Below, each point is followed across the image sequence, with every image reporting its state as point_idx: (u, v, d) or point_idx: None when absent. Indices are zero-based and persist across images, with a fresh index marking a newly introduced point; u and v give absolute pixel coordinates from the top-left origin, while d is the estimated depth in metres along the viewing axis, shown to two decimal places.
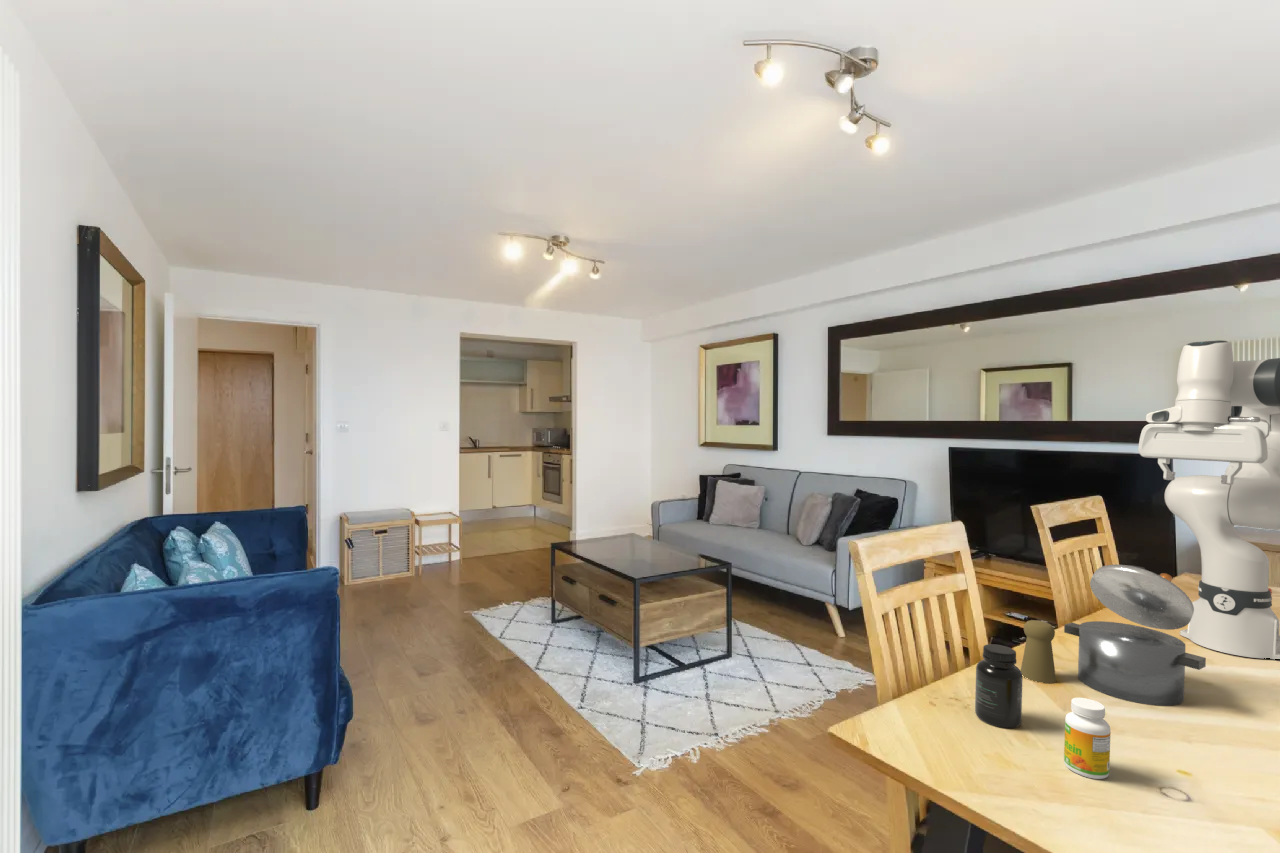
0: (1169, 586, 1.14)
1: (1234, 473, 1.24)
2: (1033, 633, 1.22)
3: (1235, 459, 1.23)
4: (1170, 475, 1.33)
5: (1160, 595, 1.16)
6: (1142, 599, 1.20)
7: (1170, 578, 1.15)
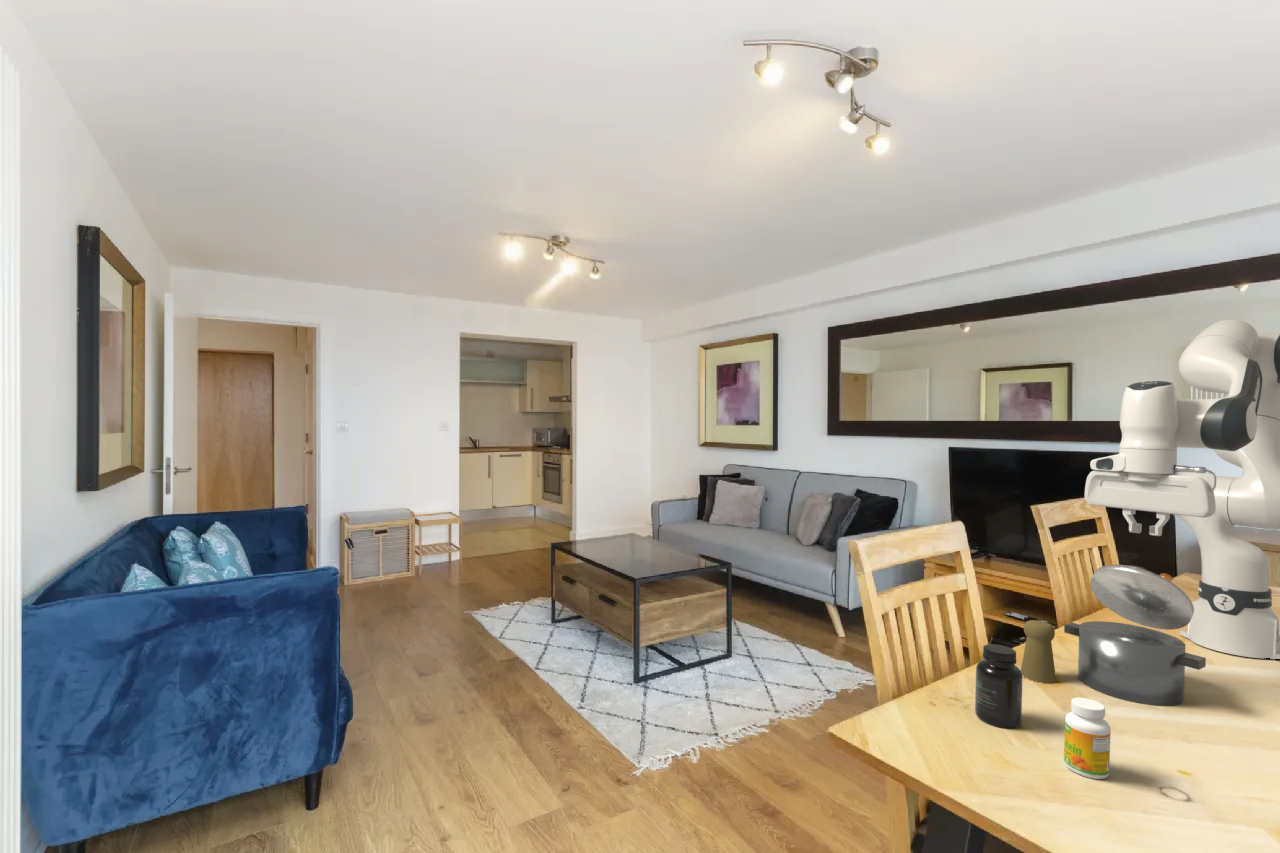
0: (1169, 586, 1.14)
1: (1161, 524, 1.19)
2: (1033, 633, 1.22)
3: (1182, 513, 1.15)
4: (1136, 528, 1.22)
5: (1160, 595, 1.16)
6: (1142, 599, 1.20)
7: (1170, 578, 1.15)
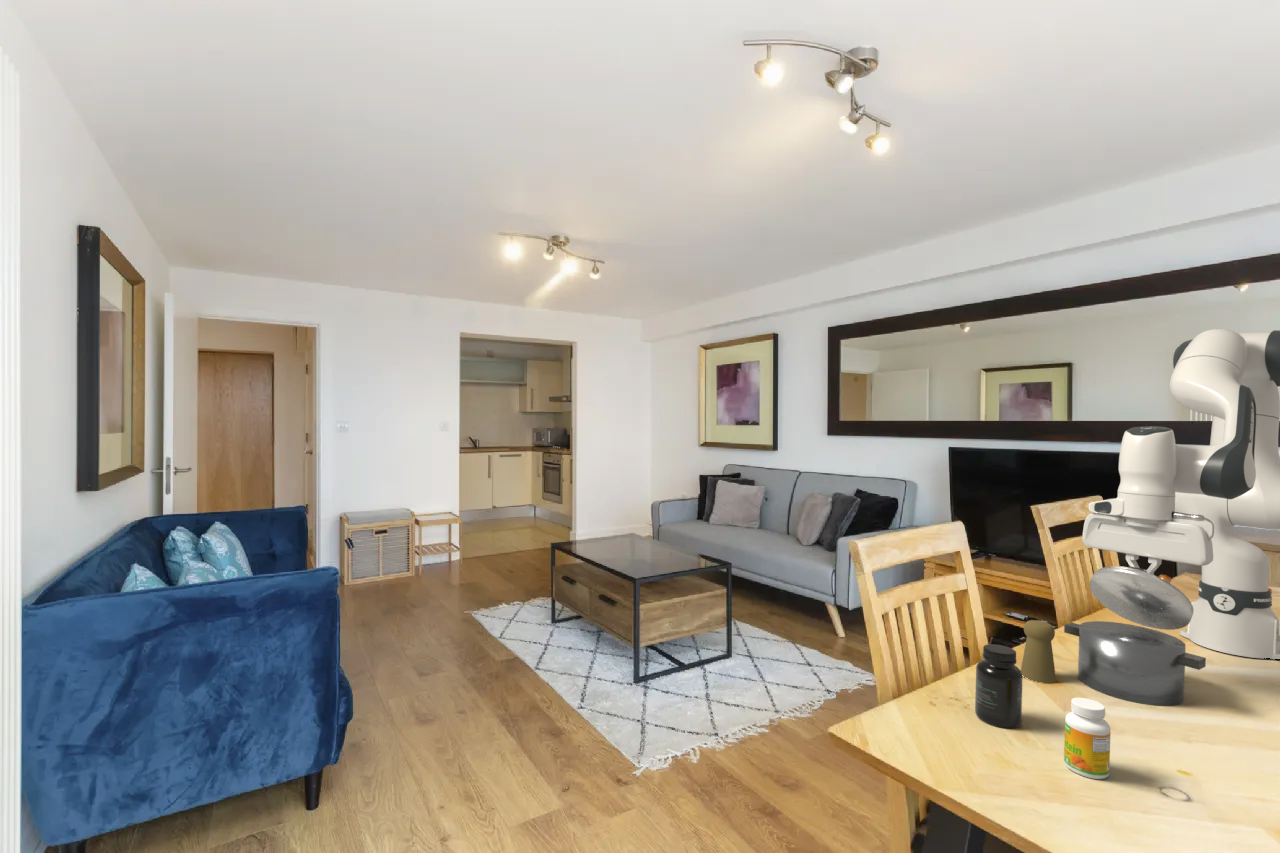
0: (1168, 588, 1.14)
1: (1153, 569, 1.20)
2: (1033, 633, 1.22)
3: (1179, 560, 1.15)
4: None
5: (1159, 596, 1.16)
6: (1142, 600, 1.20)
7: (1169, 579, 1.15)
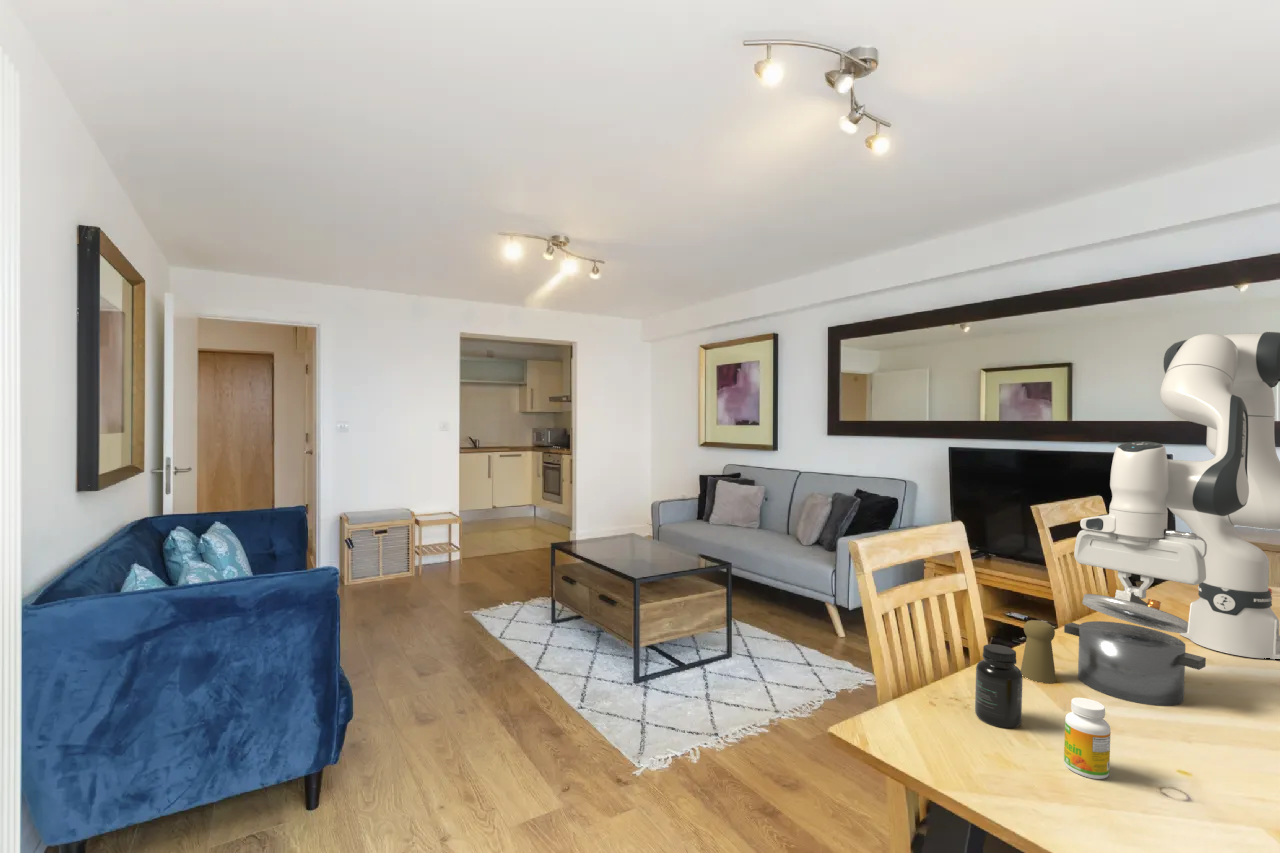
0: (1159, 616, 1.12)
1: (1146, 587, 1.18)
2: (1033, 633, 1.22)
3: (1172, 579, 1.14)
4: (1131, 592, 1.20)
5: (1152, 619, 1.15)
6: (1136, 617, 1.19)
7: (1159, 604, 1.13)
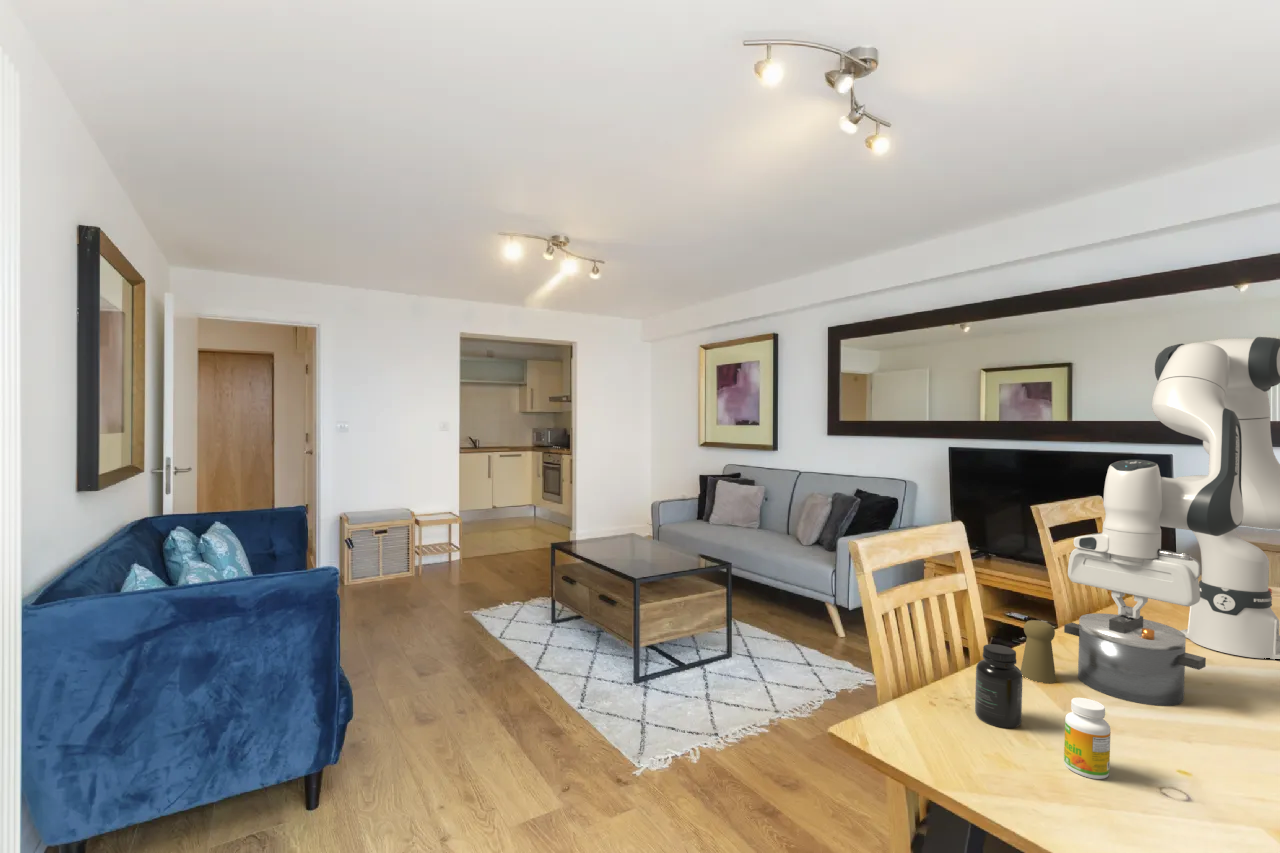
0: (1155, 647, 1.11)
1: (1139, 607, 1.17)
2: (1033, 633, 1.22)
3: (1165, 600, 1.13)
4: (1125, 612, 1.19)
5: None
6: None
7: (1153, 633, 1.12)
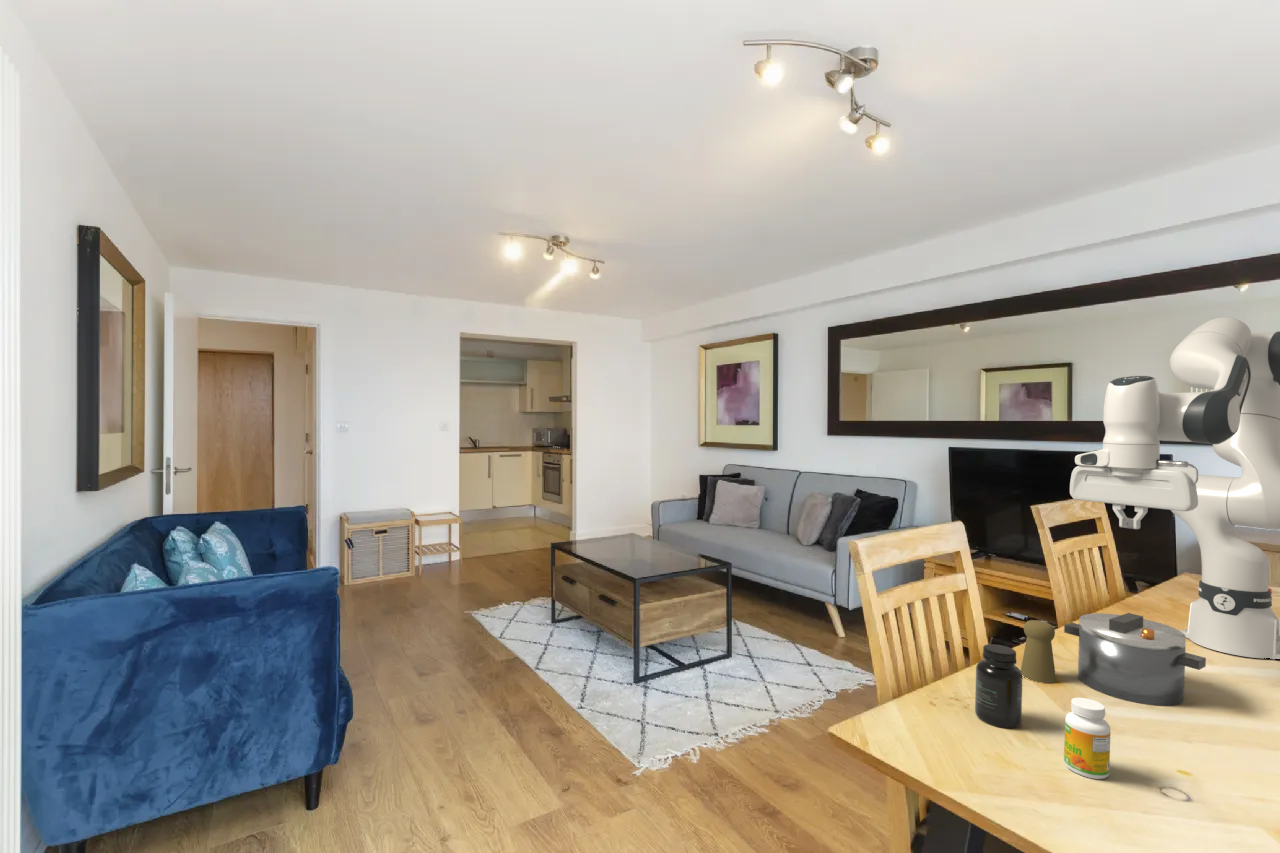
0: (1155, 647, 1.11)
1: (1140, 517, 1.21)
2: (1033, 633, 1.22)
3: (1165, 507, 1.16)
4: (1126, 523, 1.23)
5: None
6: None
7: (1153, 633, 1.12)
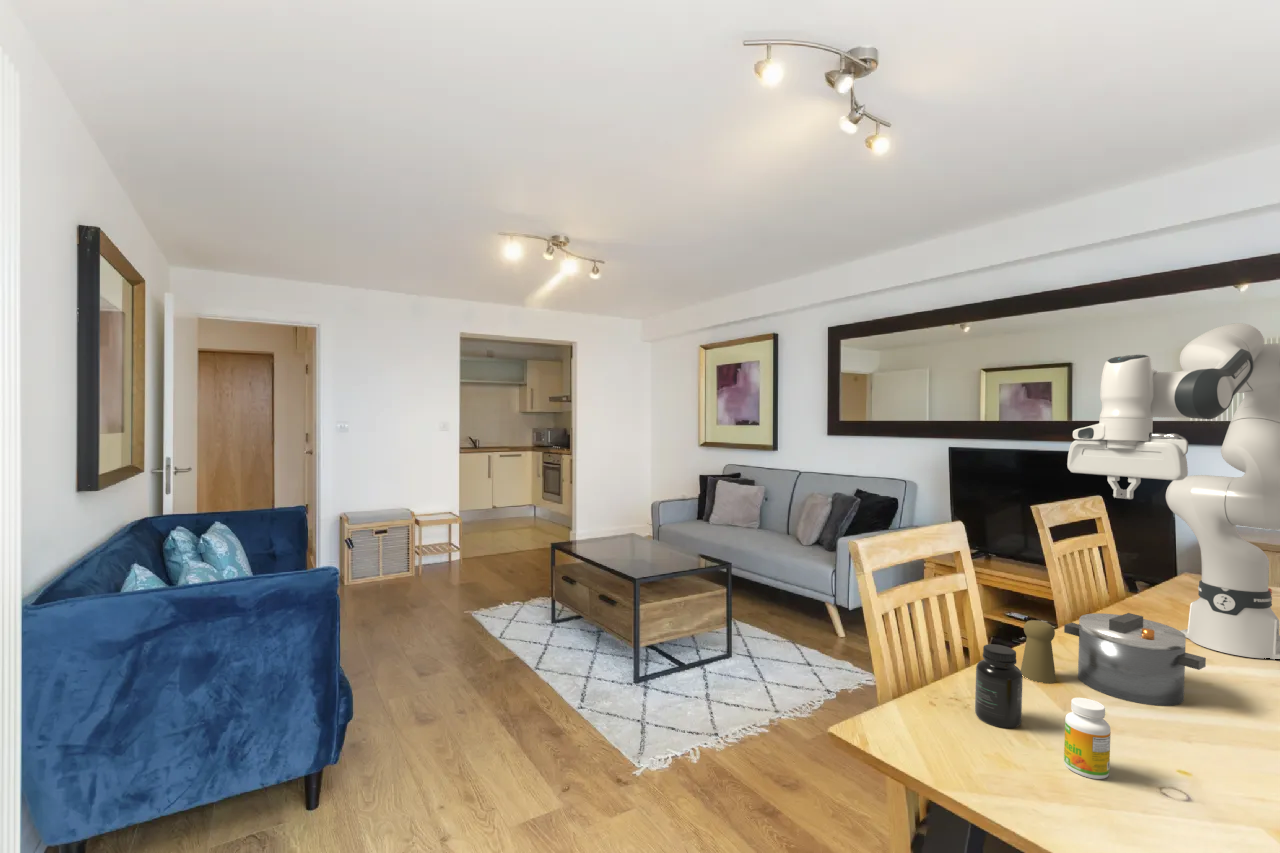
0: (1155, 647, 1.11)
1: (1133, 488, 1.28)
2: (1033, 633, 1.22)
3: (1156, 477, 1.23)
4: (1120, 493, 1.29)
5: None
6: None
7: (1153, 633, 1.12)
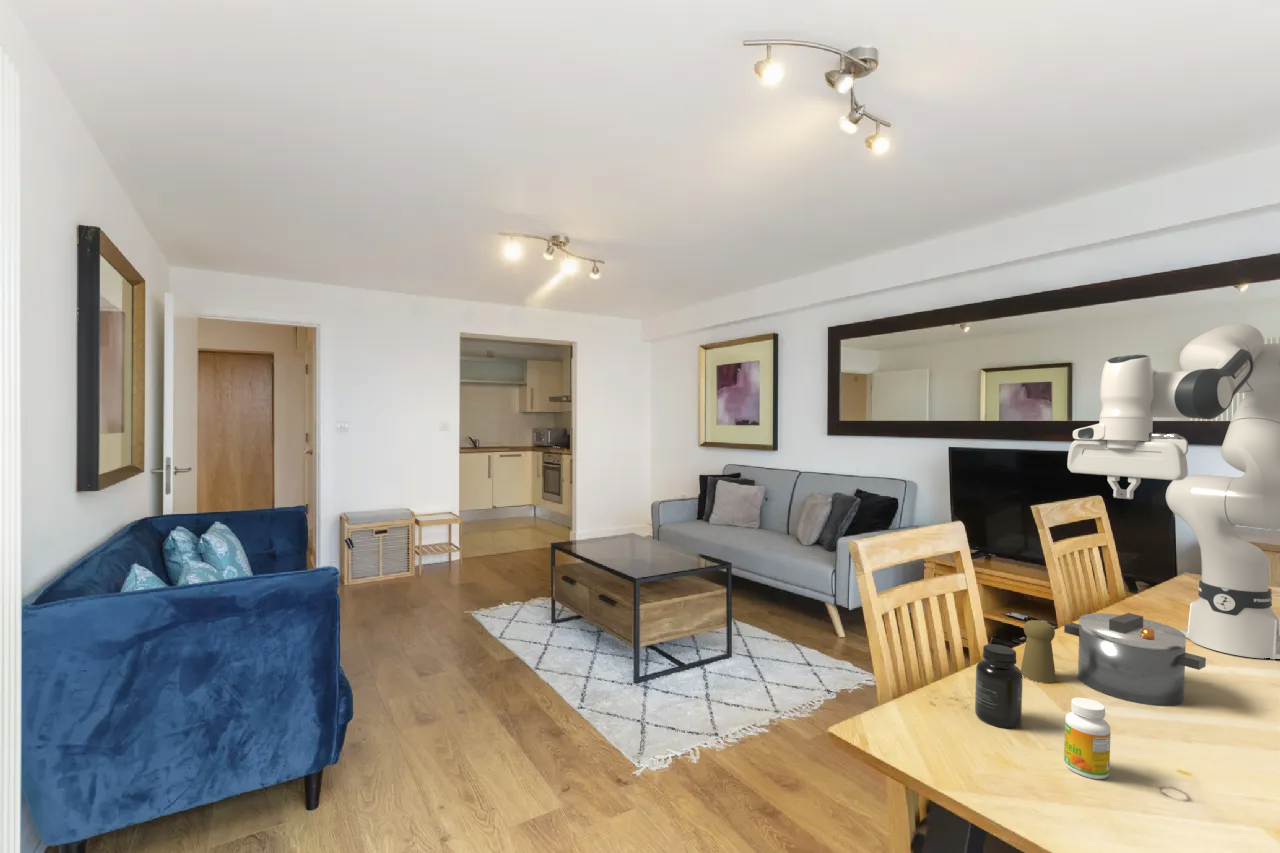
0: (1155, 647, 1.11)
1: (1133, 488, 1.28)
2: (1033, 633, 1.22)
3: (1156, 477, 1.23)
4: (1120, 493, 1.29)
5: None
6: None
7: (1153, 633, 1.12)
